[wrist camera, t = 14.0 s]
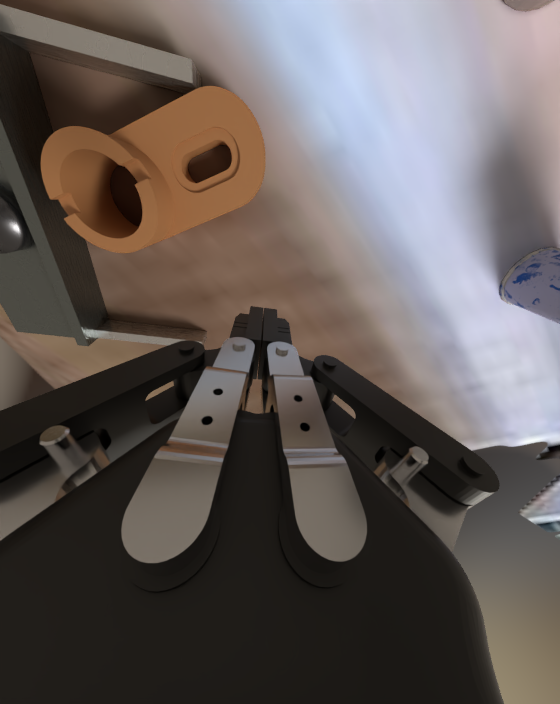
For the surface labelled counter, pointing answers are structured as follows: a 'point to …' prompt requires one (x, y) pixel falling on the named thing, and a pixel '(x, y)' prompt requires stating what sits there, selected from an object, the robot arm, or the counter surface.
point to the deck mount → (30, 193)
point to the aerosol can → (535, 283)
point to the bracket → (156, 169)
